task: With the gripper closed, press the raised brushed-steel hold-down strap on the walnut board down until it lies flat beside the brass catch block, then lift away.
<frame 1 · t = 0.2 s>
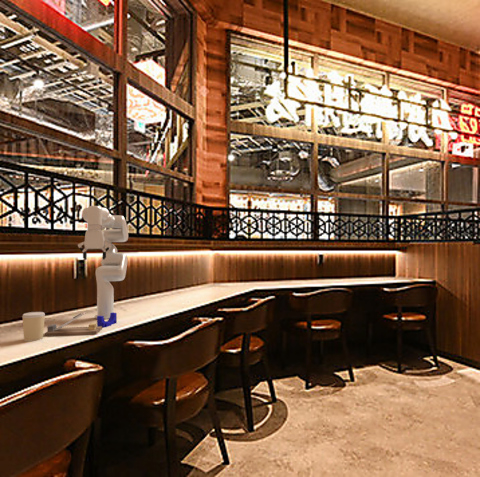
hand: (94, 259, 202), 36 cm above the counter, tool pointing down, fingers open, 9 cm apart
cable clip: (108, 325, 203), on the counter
strap: (70, 320, 186), point 6 cm above the counter, hinge at 30.0°
coffee cup: (33, 339, 173), on the counter
board: (74, 332, 186), on the counter
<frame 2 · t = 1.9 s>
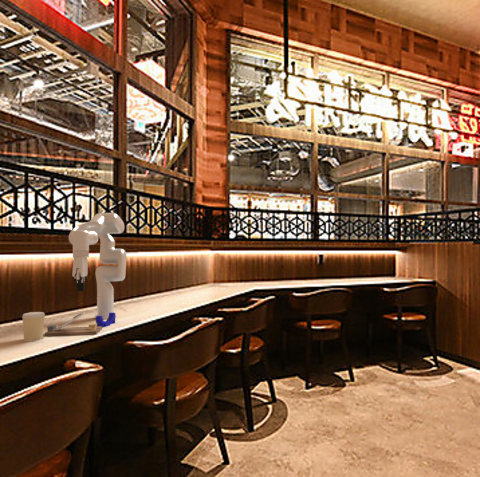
hand: (80, 290, 187), 21 cm above the counter, tool pointing down, fingers closed
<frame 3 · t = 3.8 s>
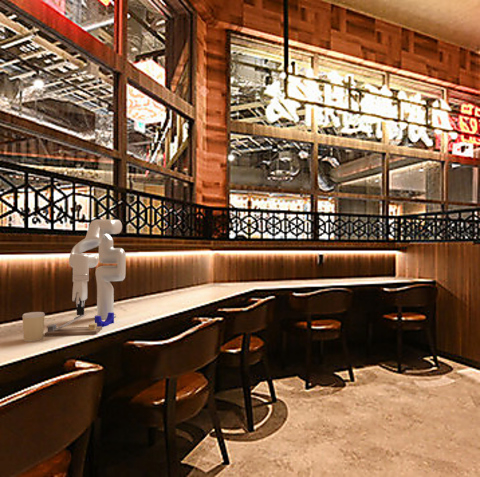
hand: (80, 314, 186), 9 cm above the counter, tool pointing down, fingers closed
strap: (70, 321, 186), point 6 cm above the counter, hinge at 26.4°, touching gripper
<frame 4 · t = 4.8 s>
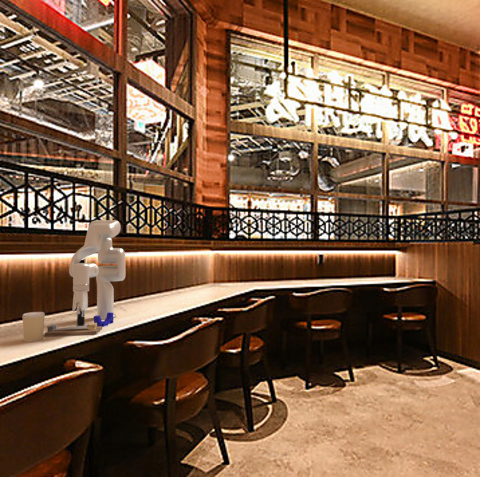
hand: (80, 324, 185), 4 cm above the counter, tool pointing down, fingers closed
strap: (72, 326, 186), point 3 cm above the counter, hinge at 4.4°, touching gripper
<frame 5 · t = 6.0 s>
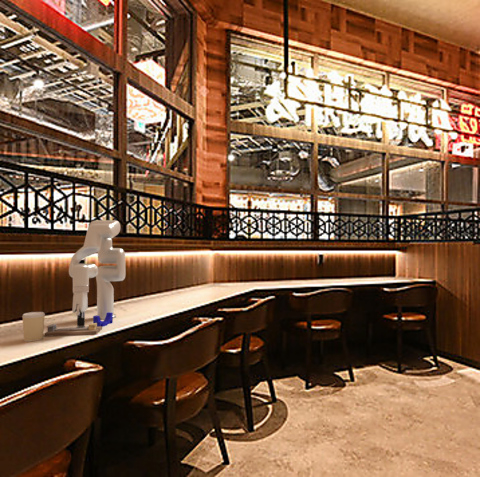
hand: (80, 325, 186), 3 cm above the counter, tool pointing down, fingers closed
strap: (72, 327, 186), point 2 cm above the counter, hinge at 0.5°
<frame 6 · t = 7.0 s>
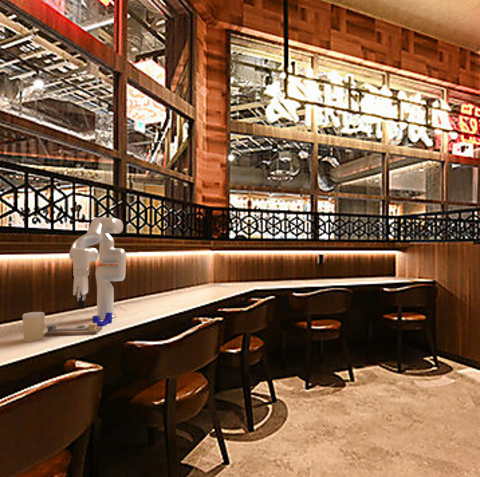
hand: (81, 308, 188), 12 cm above the counter, tool pointing down, fingers closed
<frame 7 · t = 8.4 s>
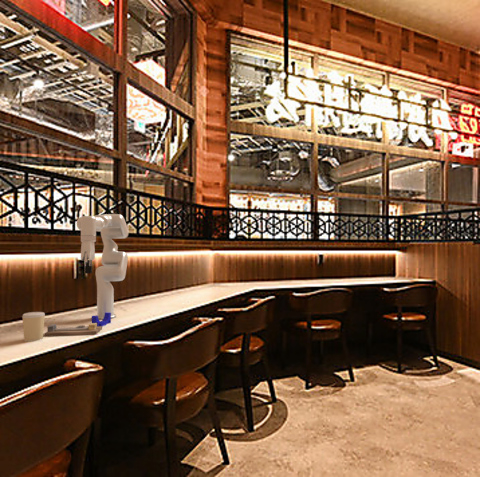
hand: (88, 273, 197), 29 cm above the counter, tool pointing down, fingers closed
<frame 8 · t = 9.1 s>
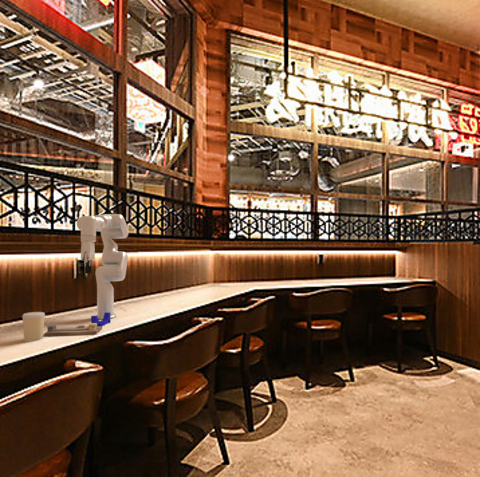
hand: (88, 273, 197), 29 cm above the counter, tool pointing down, fingers closed
at the end: strap at +0° (first picture: +30°) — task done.
